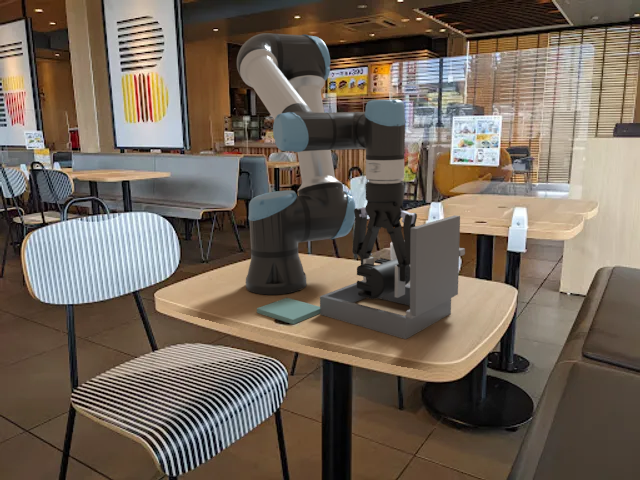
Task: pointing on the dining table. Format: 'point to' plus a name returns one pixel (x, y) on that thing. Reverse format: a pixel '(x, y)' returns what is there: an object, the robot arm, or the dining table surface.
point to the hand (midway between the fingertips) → (383, 291)
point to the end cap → (378, 278)
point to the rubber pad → (289, 310)
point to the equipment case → (410, 285)
